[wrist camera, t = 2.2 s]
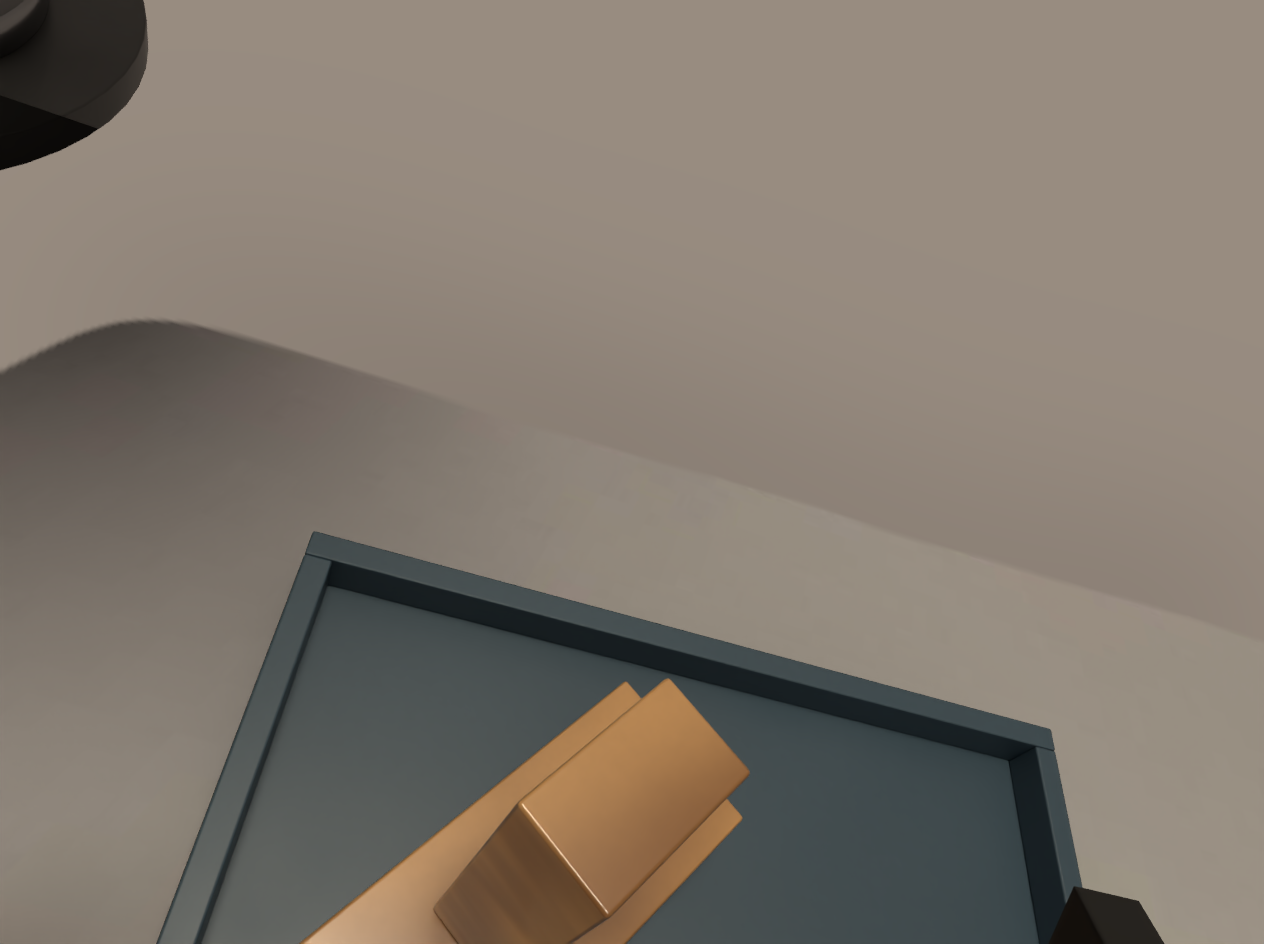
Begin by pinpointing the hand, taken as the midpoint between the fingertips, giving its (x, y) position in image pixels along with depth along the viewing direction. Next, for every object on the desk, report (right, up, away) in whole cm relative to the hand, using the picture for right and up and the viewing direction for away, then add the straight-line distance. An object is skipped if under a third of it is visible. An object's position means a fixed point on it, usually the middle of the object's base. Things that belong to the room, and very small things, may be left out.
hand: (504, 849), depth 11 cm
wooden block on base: (-2, -7, +13) cm, 15 cm away
